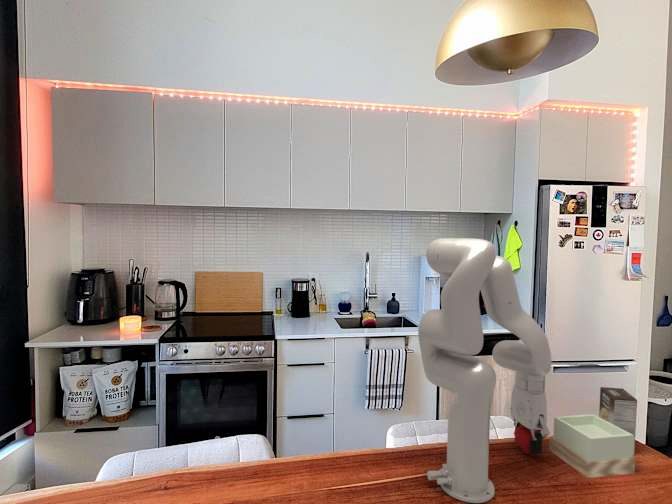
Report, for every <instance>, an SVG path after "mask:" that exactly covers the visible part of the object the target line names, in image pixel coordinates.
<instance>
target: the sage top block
mask: <svg viewBox="0 0 672 504" xmlns="http://www.w3.org/2000/svg"><path fill="white" fill-rule="evenodd" d="M552 436H553V438H555V439H556V440H558V441H559V442H561V443H562V444H564V445H565V446H567V447H568V448H570V449H571V450H573V451H574V452H576V453H577V454H579V455H580V456H582V457H583V458H585V459H586V460H588V461H589V462H596V461H607V460H617V459H627V458H634V455H633V444H634V435H632V434H631V433H629V432H627V431H625V430H623V429H621V428H619V427H617V426H615V425H613V424H611V423H609V422H608V421H606V420H604V419H602V418H600V417H599V415H596V414H595V413H594V414H593V413H591V414H590V413H588V414H576V415H575V414H573V415H563V416H554V417H553V435H552Z"/></svg>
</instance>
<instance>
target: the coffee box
mask: <svg viewBox="0 0 672 504" xmlns="http://www.w3.org/2000/svg"><path fill="white" fill-rule="evenodd" d="M599 390H600V391H599V412H598V417H600V418H602V419H604V420H606V421H608V422H609V423H611V424H613V425H615V426H617V427H619V428H621V429H623V430H625V431H627V432H629V433H631V434H632V435H634V444H633V456H635V452H636V451H635V448H636V447H635V446H636V428H637V410H638V399H637V398H635V397H634V396H633V395H632V394H630V393H629V392H628V391H627V390H625V389H624V388H618V387H605V386H604V387H603V386H601V387H600V389H599Z"/></svg>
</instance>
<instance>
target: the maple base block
mask: <svg viewBox="0 0 672 504" xmlns="http://www.w3.org/2000/svg"><path fill="white" fill-rule="evenodd" d="M548 446H549V447H548V449H549V451H550V452H552V453H553V454H554V455H556V456H557V457H559V459H561V460H563V462H565V463H567V464H568V465H569V466H570V467H572V469H573V468H574V469H575V470H577V471H578V472H579V473H580V474H581V475H583V476H584V477H585V478H587V479H593V478H600V477H613V476H621V475H622V476H624V475H634V474H635V473H636V471H635V469H636V458H635V457H633V458H627V459H617V460H607V461H596V462H589V461H588V460H586V459H585V458H583V457H582V456H580V455H579V454H577V453H576V452H574V451H573V450H571V449H570V448H568V447H567V446H565V445H564V444H562V443H561V442H559V441H558V440H556V439H555V438H553V435H552V436H551V435H550V436H549V445H548Z"/></svg>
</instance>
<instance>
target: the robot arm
mask: <svg viewBox="0 0 672 504" xmlns="http://www.w3.org/2000/svg"><path fill="white" fill-rule="evenodd" d="M425 252H426V254H425V255H426V256H425V257H426V261H427V264H428V266H429V267H430V268H431V269H432V270H433V271H434V272H435V273H437V274H439V275H441V276H443V277H445V278H446V279H447V281H446V282H445V284H444V286H443V287H442V289H441V293H440V306H441V308H440V309H439V308H438V309H436V308H435V309H429V310H427V311H426V312H425V313H424V314H423V315H422V316H421V318H420V321H419V324H418V332H417V334H418V335H417V337H418V344H419V349H420V354H421V360H422V366H423V371H424V375H425V377H426V379H427V380H428V382H430V383H431V384H432V385H434V386H436V387H440V388H441V389H444V390H447V391H449V392H452V394H456V396H457V397H456V399H455V400H454V402H453V403H452V404H451V405H450V406H449V409H448V413H447V415H448V416H447V442H446V443H447V445H446V463H442V468H439V470H428V471H427V473H426V474H427V475H426V476H427V479H428V481H434V480H436V483H437V485H440V487H441V489H442V490H443V491H444V493H446V494H447V495H449V496H450V497H451V498H454V499H456V500H458V501H461V502H465V503H471V504H482V503H486V502H488V501H490V500H492V499H493V498H494V497H495V491H496V490H495V485H494V483H493V482H492V480H491V479H490V478H489V452H490V451H489V450H490V449H489V448H490V425H491V424H490V423H491V410H492V409H491V408H492V401H493V397H494V392H495V388H496V384H497V374H496V372H495V369H494V367H492V365H491V364H489V363H488V362H487V361H486V360H483V359H481V358H478V357H476V356H475V355H478V354H479V353H480V352H481V351H482V349H483V346H484V332H483V331H484V330H483V323H482V315H481V307H480V293H481V296H482V300H483V303H484V307H485V311H486V314H487V316H488V318H489V319H490V320H491V321H493V323H496V324H497V325H498V326H499V327H501V328H503V329H505V330H507V331H508V332H510V333H511V334H513V335H515V336H516V337H518V338H519V339H518V340H517V339H516V340H511V339H510V340H509V339H508V340H507V339H505V340H500V341H499V342H497V343H496V344H495V346H494V347H493V349H492V353H491V354H492V359H493V361H494V362H495V364H496V365H498V366H499V367H501V368H504V369H507V370H511V371H514V372H515V379H514V380H515V382H514V384H513V387H512V391H511V399H510V408H509V410H510V411H509V413H510V415H511V417H512V419H513V426H514V430H515V429H516V428H517V427H518V426H522V425H523V426H525V427H526V428H528V429H530V430H531V435H532V439H530V453H531V455H537V454H538V455H539V454H542V453H543V441H544V439H545V438H546V437H547V436H549V435H550V430H549V428H548V425H547V424H548V423H547V420H548V413H547V411H548V409H547V406H548V405H547V398H546V393H545V391H546V376H547V375H548V373H549V372H550V371H551V367H552V353H551V349H550V343H549V340H548V338H547V335H546V333H545V332H544V330H543V329H542V327H541V326H540V325H539V324H538V323H537V321H536V320H535V319H534V318H533V317H532V316H531V315H530V314H529V313H528V312H527V311H525V310H524V309H523V307H522V304H521V299H520V296H519V292H518V288H517V283H516V279H515V275H514V272H513V267H512V264H511V263H510V261H509V260H508V259H507V258H505V257H503V256H500V255H497V249H496V247H495V245H494V244H493V243H492V242H491V241H489V240H487V239H483V238H473V237H472V238H471V237H470V238H469V237H467V238H466V237H460V238H459V237H458V238H457V237H456V238H452V237H451V238H450V237H448V238H447V237H443V238H441V237H440V238H436V239H434V240H432V241H431V242H430V243H429V245H428V247H427V248H426V251H425ZM519 424H522V425H519ZM537 426H538V427H537ZM535 430H538V433H537V434H536V433H535ZM514 441H515V442H517V441H516V439H515V438H514ZM517 443H518V442H517Z"/></svg>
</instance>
